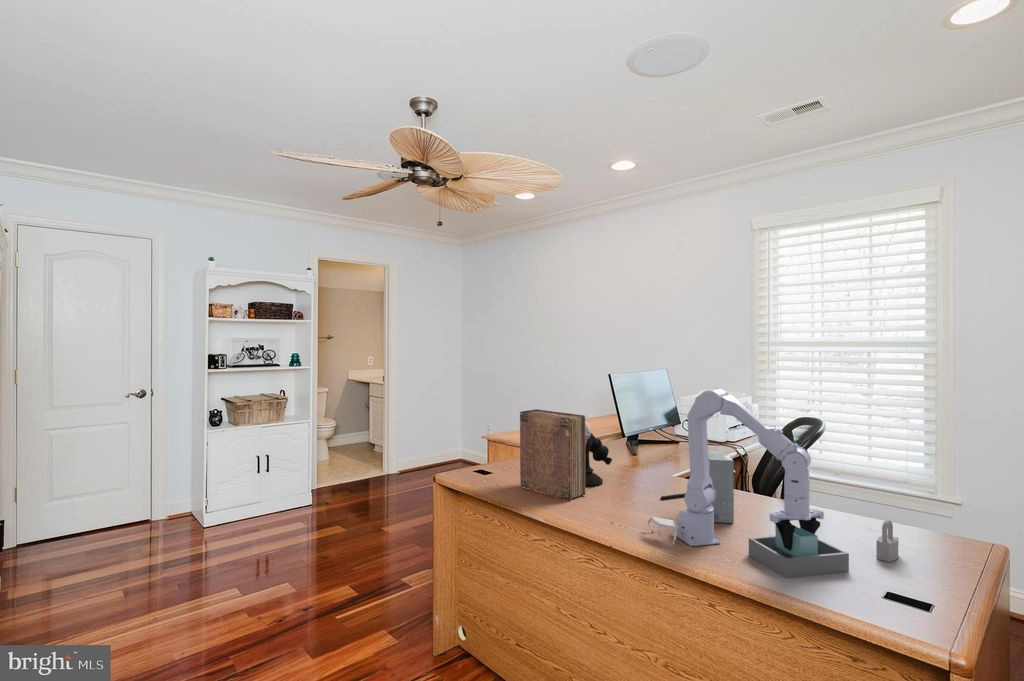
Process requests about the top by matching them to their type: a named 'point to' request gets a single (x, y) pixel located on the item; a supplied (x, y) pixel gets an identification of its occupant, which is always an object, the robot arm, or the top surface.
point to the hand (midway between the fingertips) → (796, 547)
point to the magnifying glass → (673, 496)
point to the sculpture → (594, 457)
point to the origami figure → (664, 525)
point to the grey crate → (798, 558)
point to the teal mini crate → (799, 543)
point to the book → (553, 453)
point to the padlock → (887, 543)
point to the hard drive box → (722, 485)
